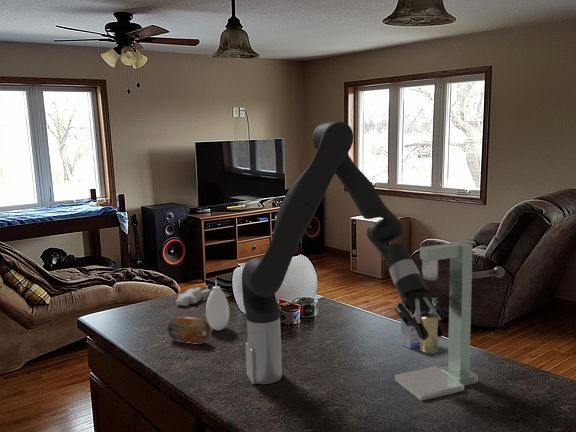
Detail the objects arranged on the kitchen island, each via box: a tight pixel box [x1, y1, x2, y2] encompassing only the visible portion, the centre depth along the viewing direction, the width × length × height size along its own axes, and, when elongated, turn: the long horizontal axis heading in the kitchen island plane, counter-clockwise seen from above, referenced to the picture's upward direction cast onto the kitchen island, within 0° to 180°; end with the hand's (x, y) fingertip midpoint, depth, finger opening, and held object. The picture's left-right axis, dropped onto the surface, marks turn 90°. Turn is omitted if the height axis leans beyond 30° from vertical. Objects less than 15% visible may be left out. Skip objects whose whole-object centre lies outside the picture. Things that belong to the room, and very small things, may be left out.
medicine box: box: [400, 318, 420, 350], centre depth 161 cm, size 8×4×9 cm, turn 117°
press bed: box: [394, 241, 506, 401], centre depth 136 cm, size 30×12×37 cm, turn 110°
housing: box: [419, 313, 439, 354], centre depth 133 cm, size 4×4×9 cm
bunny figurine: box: [175, 287, 212, 307], centre depth 211 cm, size 10×5×15 cm
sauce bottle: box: [205, 280, 230, 331], centre depth 178 cm, size 8×8×18 cm
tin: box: [167, 315, 211, 345], centre depth 169 cm, size 15×3×8 cm, turn 68°
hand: (433, 336), depth 132 cm, fingers closed on housing, 4 cm apart
